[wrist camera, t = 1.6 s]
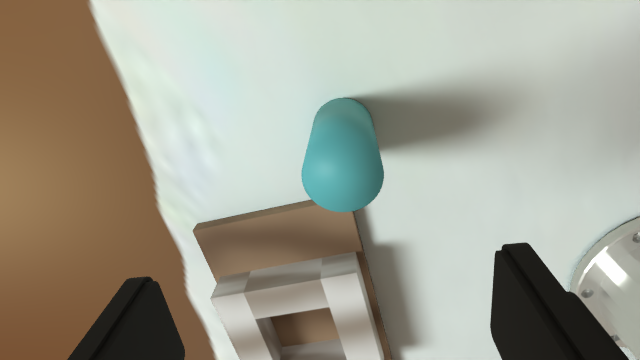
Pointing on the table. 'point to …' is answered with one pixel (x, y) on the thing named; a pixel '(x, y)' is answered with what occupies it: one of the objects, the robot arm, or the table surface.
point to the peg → (342, 157)
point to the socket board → (284, 248)
